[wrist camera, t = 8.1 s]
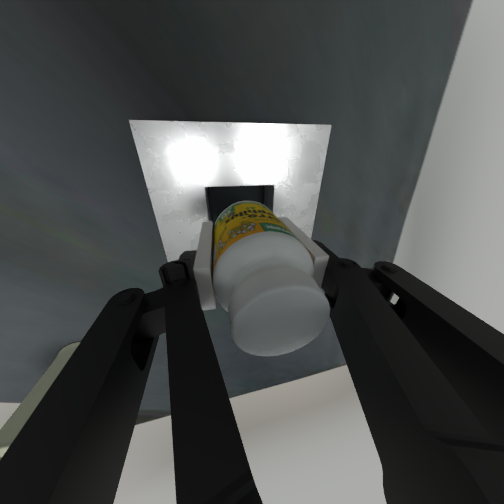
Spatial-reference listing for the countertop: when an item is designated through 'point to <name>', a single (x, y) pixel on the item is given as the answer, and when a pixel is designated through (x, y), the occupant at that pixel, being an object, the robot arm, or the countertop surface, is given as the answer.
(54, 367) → the can
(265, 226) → the supplement bottle
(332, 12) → the countertop surface
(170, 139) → the block with square hole
